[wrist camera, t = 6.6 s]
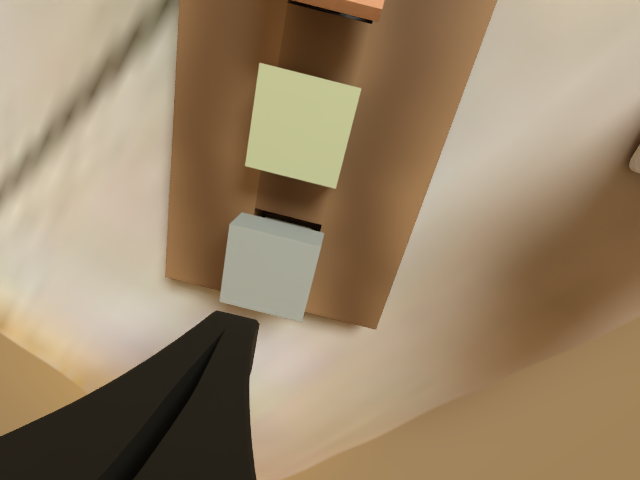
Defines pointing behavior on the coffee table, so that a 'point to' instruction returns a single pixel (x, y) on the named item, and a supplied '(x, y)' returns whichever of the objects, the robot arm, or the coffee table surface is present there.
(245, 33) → the brown wooden board
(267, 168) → the pale green cube
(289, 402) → the coffee table surface
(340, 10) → the terracotta key
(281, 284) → the pale grey cube
